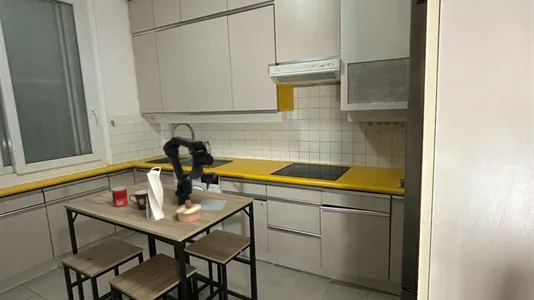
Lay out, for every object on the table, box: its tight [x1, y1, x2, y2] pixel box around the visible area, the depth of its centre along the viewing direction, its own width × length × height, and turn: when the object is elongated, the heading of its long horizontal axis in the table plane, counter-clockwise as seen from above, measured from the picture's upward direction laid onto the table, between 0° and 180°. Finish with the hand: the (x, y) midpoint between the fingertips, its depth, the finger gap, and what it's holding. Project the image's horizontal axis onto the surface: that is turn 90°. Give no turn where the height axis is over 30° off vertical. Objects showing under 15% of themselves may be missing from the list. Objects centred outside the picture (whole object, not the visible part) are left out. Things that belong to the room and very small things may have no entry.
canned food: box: [111, 185, 129, 208], centre depth 179 cm, size 8×8×11 cm
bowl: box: [177, 210, 201, 224], centre depth 156 cm, size 11×11×5 cm
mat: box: [198, 199, 228, 211], centre depth 174 cm, size 16×16×1 cm
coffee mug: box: [128, 189, 151, 211], centre depth 173 cm, size 12×9×10 cm
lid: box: [175, 199, 202, 214], centre depth 155 cm, size 13×13×5 cm
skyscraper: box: [145, 166, 165, 223], centre depth 156 cm, size 8×8×28 cm
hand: (199, 190), depth 166 cm, fingers open, 9 cm apart
